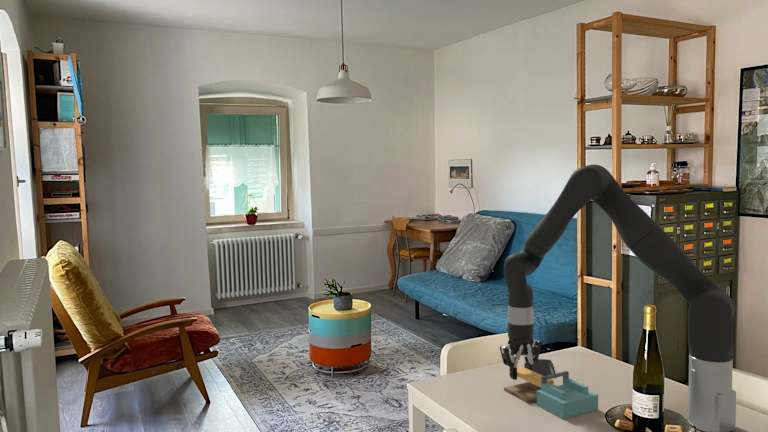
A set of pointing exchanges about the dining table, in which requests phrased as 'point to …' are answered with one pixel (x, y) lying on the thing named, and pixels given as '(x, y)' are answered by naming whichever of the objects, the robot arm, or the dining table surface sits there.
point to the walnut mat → (524, 391)
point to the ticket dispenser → (566, 397)
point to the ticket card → (532, 376)
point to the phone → (543, 367)
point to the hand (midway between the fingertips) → (521, 377)
